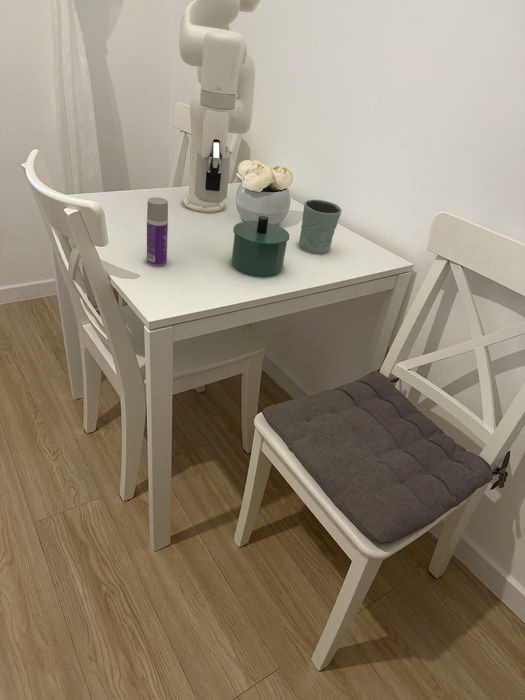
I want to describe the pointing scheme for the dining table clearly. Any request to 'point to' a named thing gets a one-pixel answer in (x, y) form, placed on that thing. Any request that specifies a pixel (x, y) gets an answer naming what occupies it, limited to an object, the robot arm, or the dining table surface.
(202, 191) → the can
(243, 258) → the pot
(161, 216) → the container
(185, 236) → the dining table surface
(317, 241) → the green textured cup
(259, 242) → the pot lid
